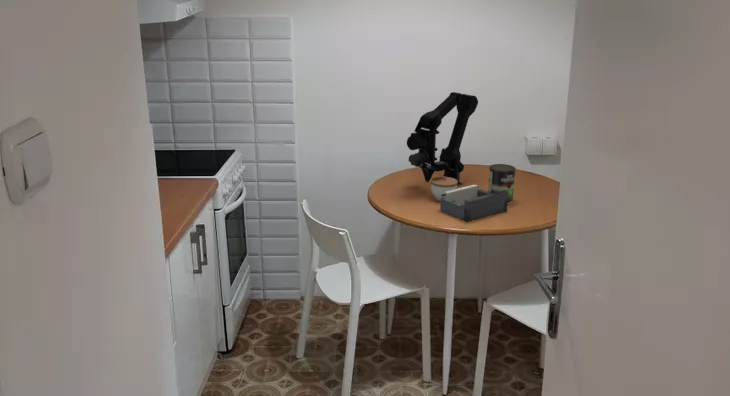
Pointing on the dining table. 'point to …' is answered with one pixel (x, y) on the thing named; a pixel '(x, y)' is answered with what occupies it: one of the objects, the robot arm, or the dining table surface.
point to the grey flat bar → (462, 193)
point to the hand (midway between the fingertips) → (427, 182)
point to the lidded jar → (442, 186)
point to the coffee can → (502, 179)
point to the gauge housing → (476, 205)
